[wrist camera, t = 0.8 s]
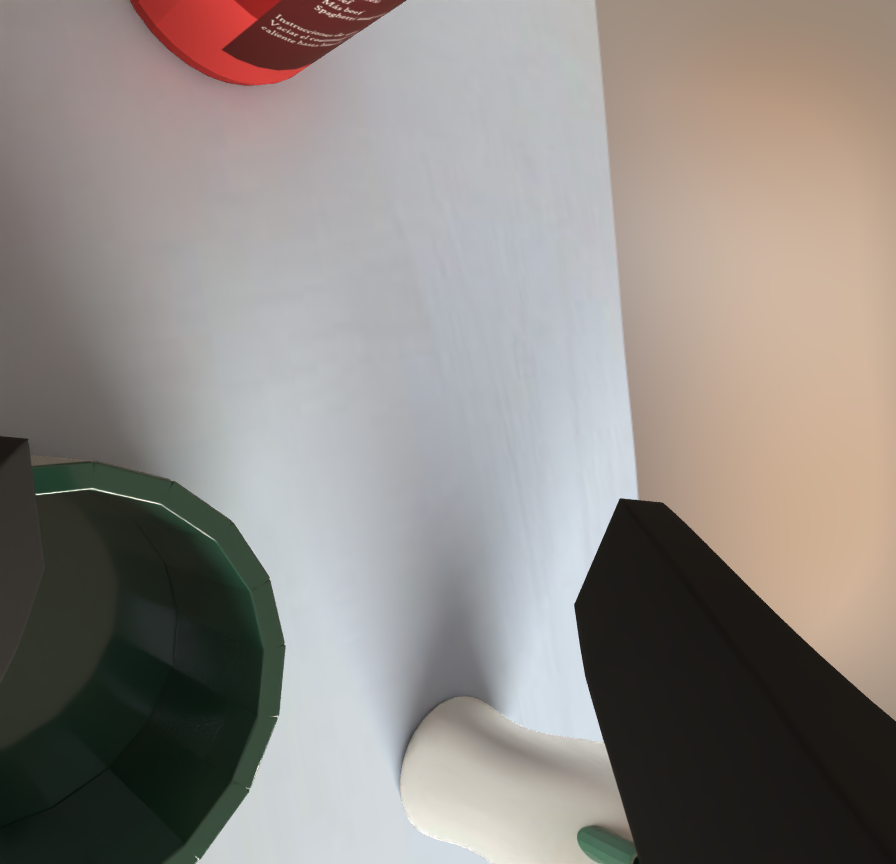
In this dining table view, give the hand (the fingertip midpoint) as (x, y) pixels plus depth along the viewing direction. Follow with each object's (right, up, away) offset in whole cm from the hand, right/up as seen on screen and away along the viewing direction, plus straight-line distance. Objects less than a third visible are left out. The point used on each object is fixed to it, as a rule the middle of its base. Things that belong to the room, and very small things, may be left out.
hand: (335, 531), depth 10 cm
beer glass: (+1, -14, +25) cm, 28 cm away
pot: (-12, -5, +13) cm, 18 cm away
